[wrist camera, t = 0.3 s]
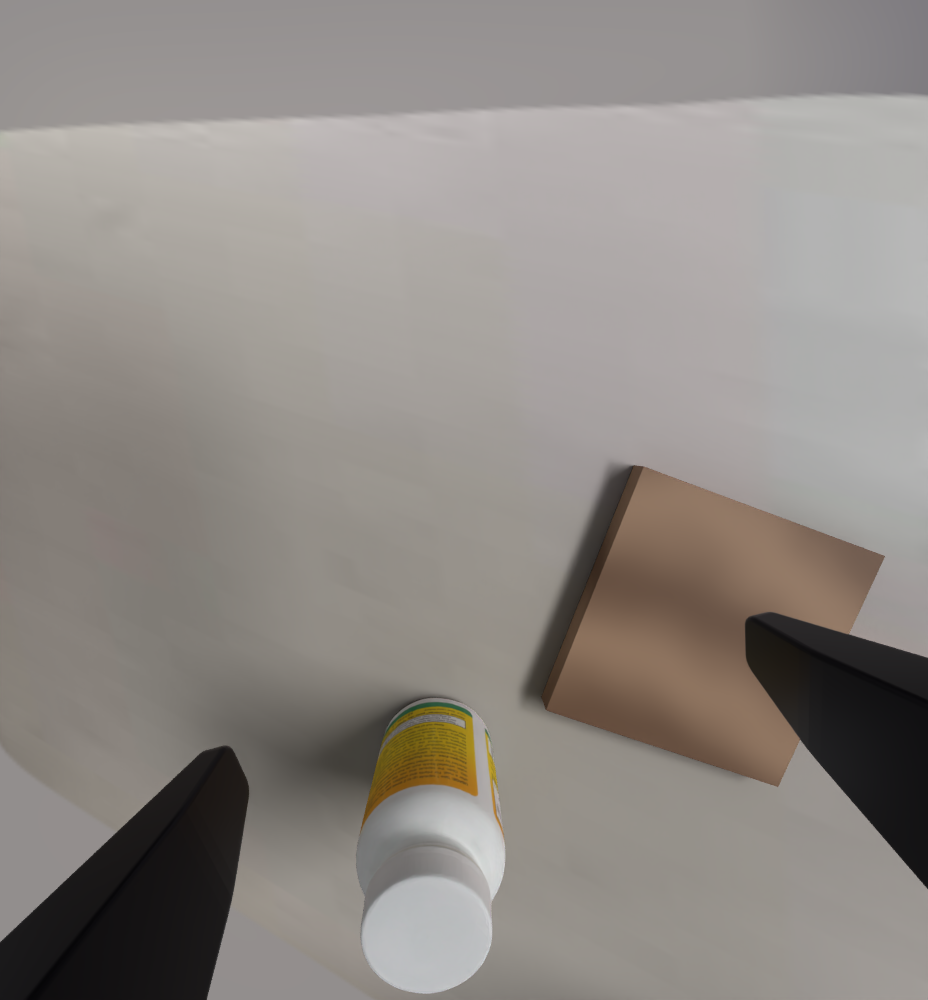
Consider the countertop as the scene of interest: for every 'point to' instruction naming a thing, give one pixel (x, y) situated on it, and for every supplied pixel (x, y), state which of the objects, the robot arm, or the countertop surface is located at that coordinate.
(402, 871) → the supplement bottle
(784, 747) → the walnut board
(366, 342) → the countertop surface
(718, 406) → the countertop surface
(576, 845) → the countertop surface
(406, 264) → the countertop surface
